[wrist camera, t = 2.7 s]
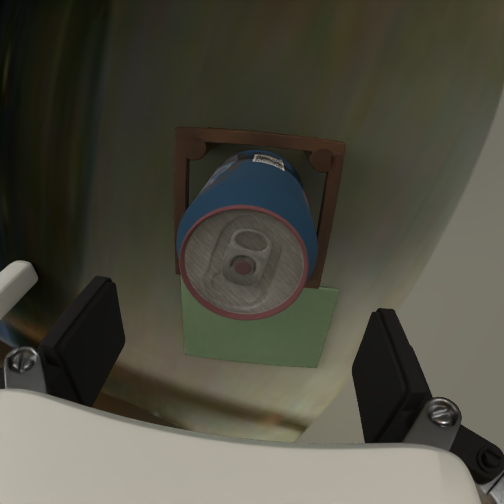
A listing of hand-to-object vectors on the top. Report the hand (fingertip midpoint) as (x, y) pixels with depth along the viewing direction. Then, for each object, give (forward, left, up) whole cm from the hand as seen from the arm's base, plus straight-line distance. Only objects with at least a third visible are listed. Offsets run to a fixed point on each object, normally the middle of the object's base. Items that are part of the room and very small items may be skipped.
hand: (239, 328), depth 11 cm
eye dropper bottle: (-26, -11, -16) cm, 32 cm away
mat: (+1, -13, -16) cm, 20 cm away
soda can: (0, 0, -16) cm, 16 cm away
